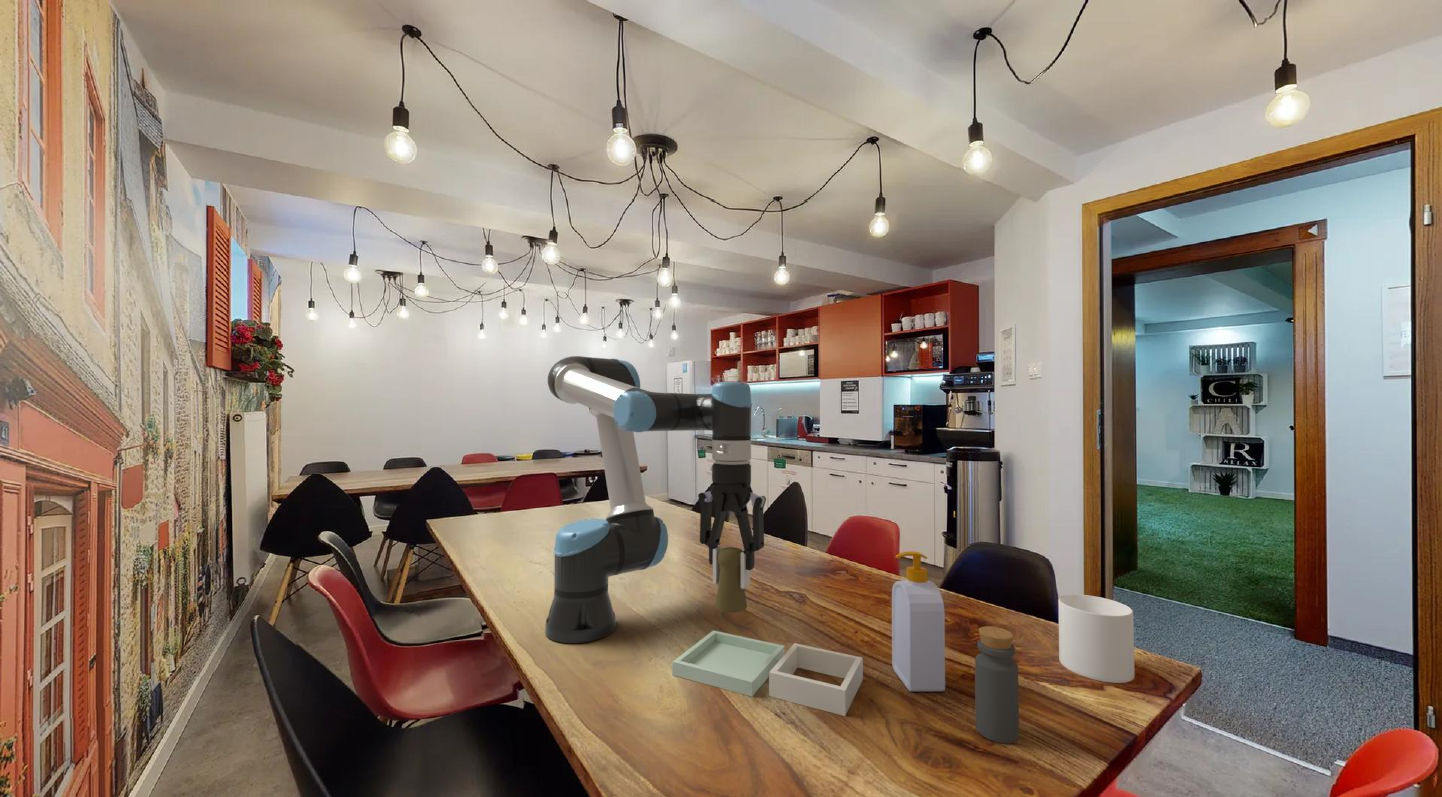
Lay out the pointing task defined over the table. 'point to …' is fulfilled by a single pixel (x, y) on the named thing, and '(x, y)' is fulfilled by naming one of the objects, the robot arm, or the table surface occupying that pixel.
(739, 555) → the cork
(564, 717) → the table surface
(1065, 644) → the cup
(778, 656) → the tray
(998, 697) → the bottle
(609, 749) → the table surface
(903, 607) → the soap bottle
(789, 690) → the frame
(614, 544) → the robot arm
